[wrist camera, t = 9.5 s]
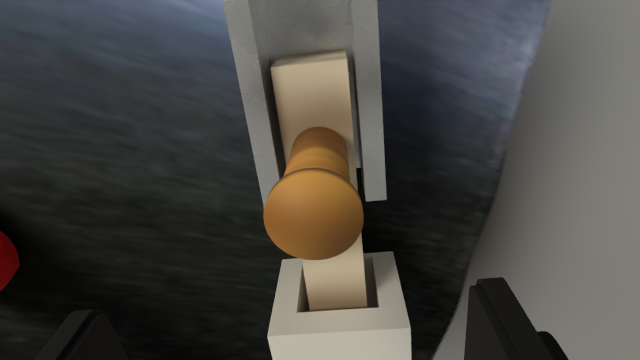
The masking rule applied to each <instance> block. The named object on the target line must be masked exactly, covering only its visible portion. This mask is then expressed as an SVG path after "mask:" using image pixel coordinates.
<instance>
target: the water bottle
mask: <svg viewBox="0 0 640 360" xmlns="http://www.w3.org/2000/svg"><path fill="white" fill-rule="evenodd" d="M19 266H20V265H19V258H18V253H17V250H16V248H15V246H14V244H13V243H12V242H11V241H10V239H9V238H8V237H7V236H6V235H5V234H4V233H2V232H1V231H0V291H1V290H2V289H3V288H4V287H5V286H6V285H7V284H8V282H9V281H10V280H11V279H12V277H13V276H14V274H15V272H16V271H17V269H18V268H19Z"/></svg>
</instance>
